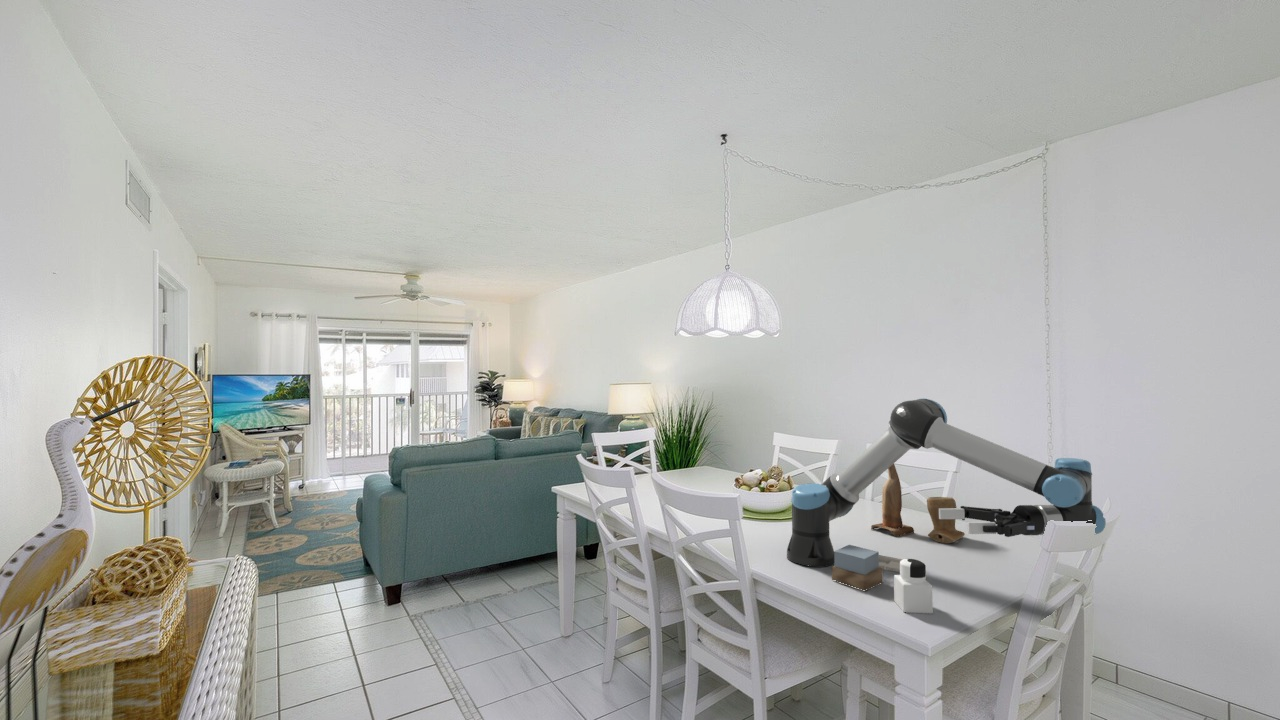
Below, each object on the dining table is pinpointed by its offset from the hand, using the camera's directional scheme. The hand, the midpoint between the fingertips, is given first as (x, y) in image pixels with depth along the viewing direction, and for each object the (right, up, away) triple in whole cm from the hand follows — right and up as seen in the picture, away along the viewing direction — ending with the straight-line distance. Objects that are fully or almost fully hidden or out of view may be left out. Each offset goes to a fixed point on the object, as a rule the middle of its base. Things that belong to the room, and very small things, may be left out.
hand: (953, 520), depth 144 cm
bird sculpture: (+14, -24, +67) cm, 72 cm away
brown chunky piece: (+29, -23, +58) cm, 69 cm away
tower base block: (-18, -23, +18) cm, 34 cm away
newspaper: (-6, -24, +35) cm, 43 cm away
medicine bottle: (-10, -23, 0) cm, 25 cm away
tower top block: (-18, -19, +18) cm, 32 cm away
